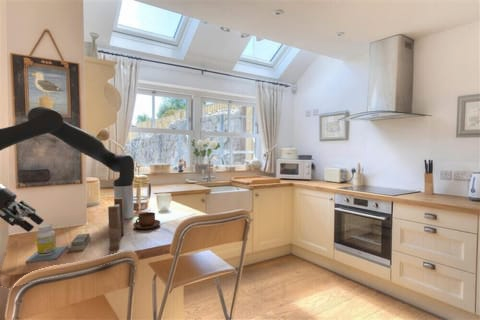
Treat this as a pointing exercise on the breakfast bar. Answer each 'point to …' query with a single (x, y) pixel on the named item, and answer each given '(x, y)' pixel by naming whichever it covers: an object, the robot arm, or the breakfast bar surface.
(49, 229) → the supplement bottle
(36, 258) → the grey mat
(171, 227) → the breakfast bar surface
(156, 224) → the cup and saucer
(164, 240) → the breakfast bar surface
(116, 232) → the offcut rack
